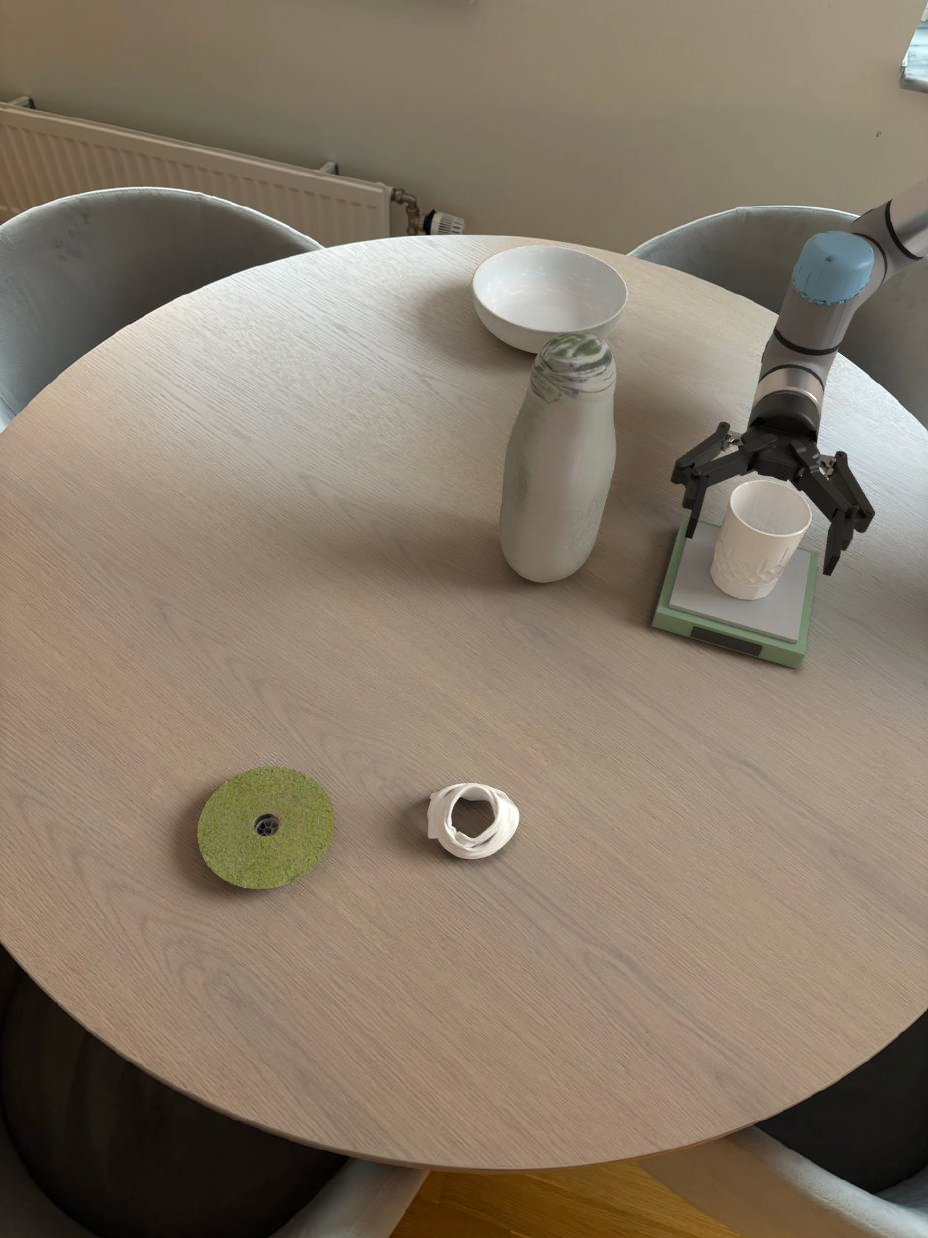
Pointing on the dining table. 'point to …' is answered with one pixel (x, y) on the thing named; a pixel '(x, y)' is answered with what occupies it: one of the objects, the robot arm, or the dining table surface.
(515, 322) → the serving bowl
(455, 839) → the white rolled strap
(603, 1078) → the dining table surface
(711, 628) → the kitchen scale
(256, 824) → the green abrasive disc
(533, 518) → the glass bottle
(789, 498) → the white cup
